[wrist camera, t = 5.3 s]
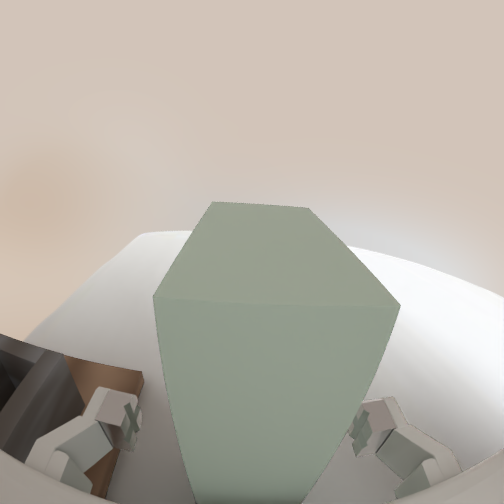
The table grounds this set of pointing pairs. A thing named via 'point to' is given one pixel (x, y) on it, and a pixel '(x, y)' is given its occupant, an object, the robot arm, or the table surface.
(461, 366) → the table surface
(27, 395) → the wooden base with socket
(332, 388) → the pale green block
